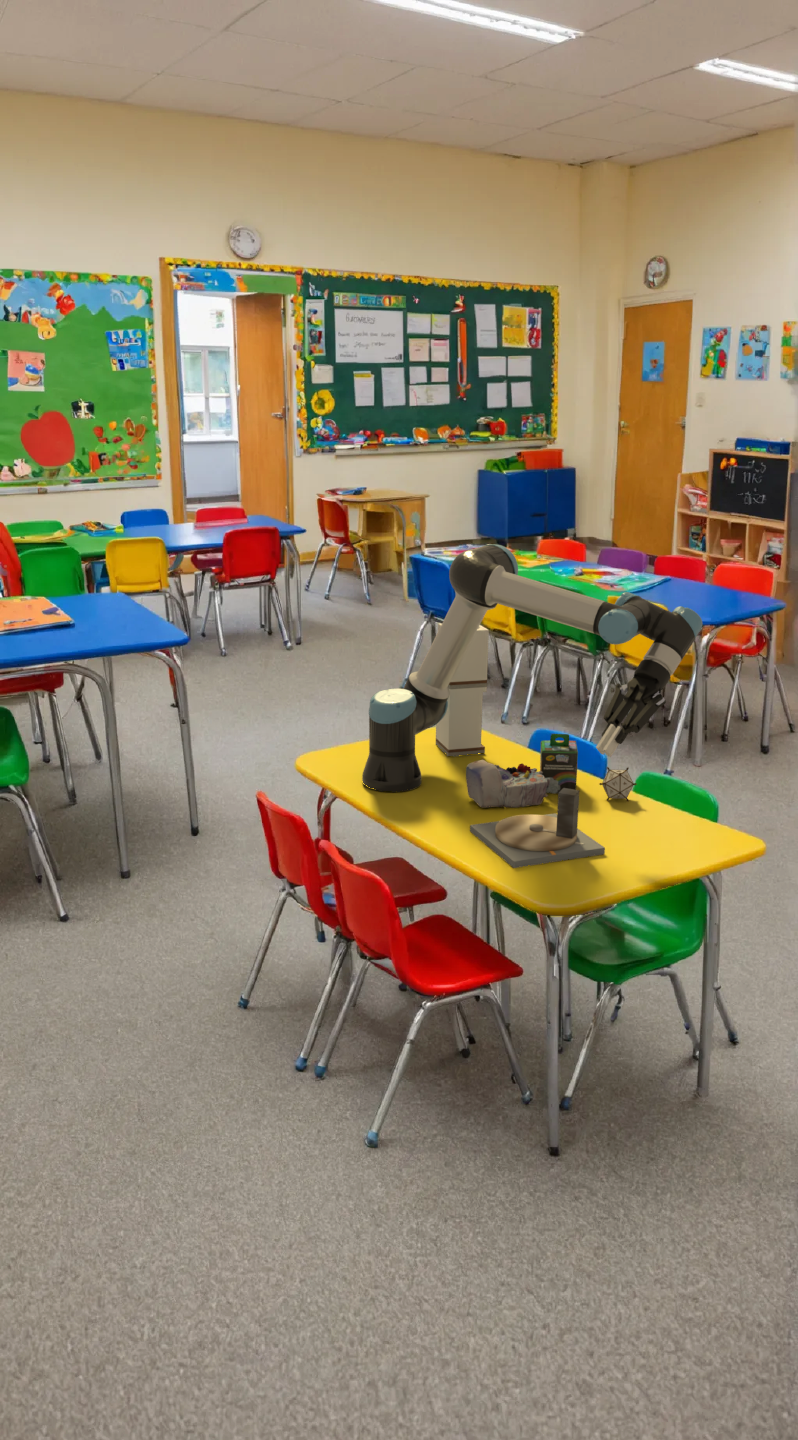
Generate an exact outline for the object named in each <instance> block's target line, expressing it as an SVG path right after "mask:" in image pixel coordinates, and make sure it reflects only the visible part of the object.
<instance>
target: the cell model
mask: <svg viewBox="0 0 798 1440" xmlns="http://www.w3.org/2000/svg"><path fill="white" fill-rule="evenodd" d="M542 773H543V772H542V771H540V770H539V771H538V768H531V766H528V764H527V765H526V764H524V763H519V764H518V765H517V768H516V767H515V766H512V767H509V766H508V767H507V768H506V769H505V768H503V767H501V766H500V764H498V765H497V764H494V763H491V762H487V761H486V760H484V759H481V760H475V761H473V762H470V763H468V764H467V765H466V767H465V779H466V780H465V781H466V787H467V790H466V791H467V794H468V796H469V798H470V799H472V800H473V802H475V803H476V804H477V806H479V807H480V808H484V809H485V808H486V809H487V808H495V807H496V808H497V807H498V808H502V807H503V808H524V807H529V806H530V807H531V806H538V805H541V804H542V803H543V801H544V799H545V798H547V797H548V796H549V794H548V793H546V788H548V787H549V784H550V781H551V780H550V778H544V776H543V775H541V774H542Z"/></svg>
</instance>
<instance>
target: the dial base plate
mask: <svg viewBox="0 0 798 1440" xmlns="http://www.w3.org/2000/svg"><path fill="white" fill-rule="evenodd" d="M544 815H545V816H551V817H556V818H557V812H556V813H548V814H544ZM499 821H500V820H497V821H491V822H483V823H482V822H481V823H475V824H470V825H469V831H470V833H471V834H473V836H475V837H476V838H477V837H478V838H477V839H478V840H480V841H481V842H482V843H484V845H486V846H487V847H488V848H489V849H491V850H492V851H493V852H494V853H496V855H498V856H499V857H500V858H501V859H502V858H503V859H502V860H504V861H505V863H507V864H508V865H510V867H512V868H513V869H517V868H522V867H523V866H524V867H529V866H528V865H530V866H536V865H543V864H549V862H550V863H556V862H561V861H562V860H563V861H569V860H575V858H576V859H581V858H587V857H588V856H589V857H595V856H600V855H605V853H606V848H605V847H604V846H603V845H602V844H600V842H597V841H596V840H595V839H593V838H592V837H590V836H589V835H588V834H586V833H585V832H584V831H582V830H580V829H579V828H577V840H576V842H575V843H574V844H573V845H571V846H569V847H567V848H564V849H560V850H555V851H529V850H522V849H517V848H514V847H511V846H508V845H506V844H504V843H502V842H501V841H499V840H498V839H497V837H496V835H495V829H496V824H497V823H498V822H499ZM589 857H588V858H589ZM568 859H569V860H568ZM542 863H543V864H542Z"/></svg>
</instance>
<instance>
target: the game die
mask: <svg viewBox="0 0 798 1440" xmlns="http://www.w3.org/2000/svg"><path fill="white" fill-rule="evenodd" d="M606 769H607V773H606V774H605V776H604V778H603V781H602V782H600V783H598V785H600V786H602V787H603V789H604V792H605V794H606V796H607V798H606V801H607V802H608V801H610V799H613V800H614V799H617V800H618V799H619V800H620V799H623V800H625V801H627V802H629V798H628V797H629V795H630V793H631V791H632V789H633V787H634V786H637V783H636V782H634V781H633V780H632V777H631V776H630V775H631V774H630V773H629V766H628V767H626V768H625V769H610V767H609V766H606Z"/></svg>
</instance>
